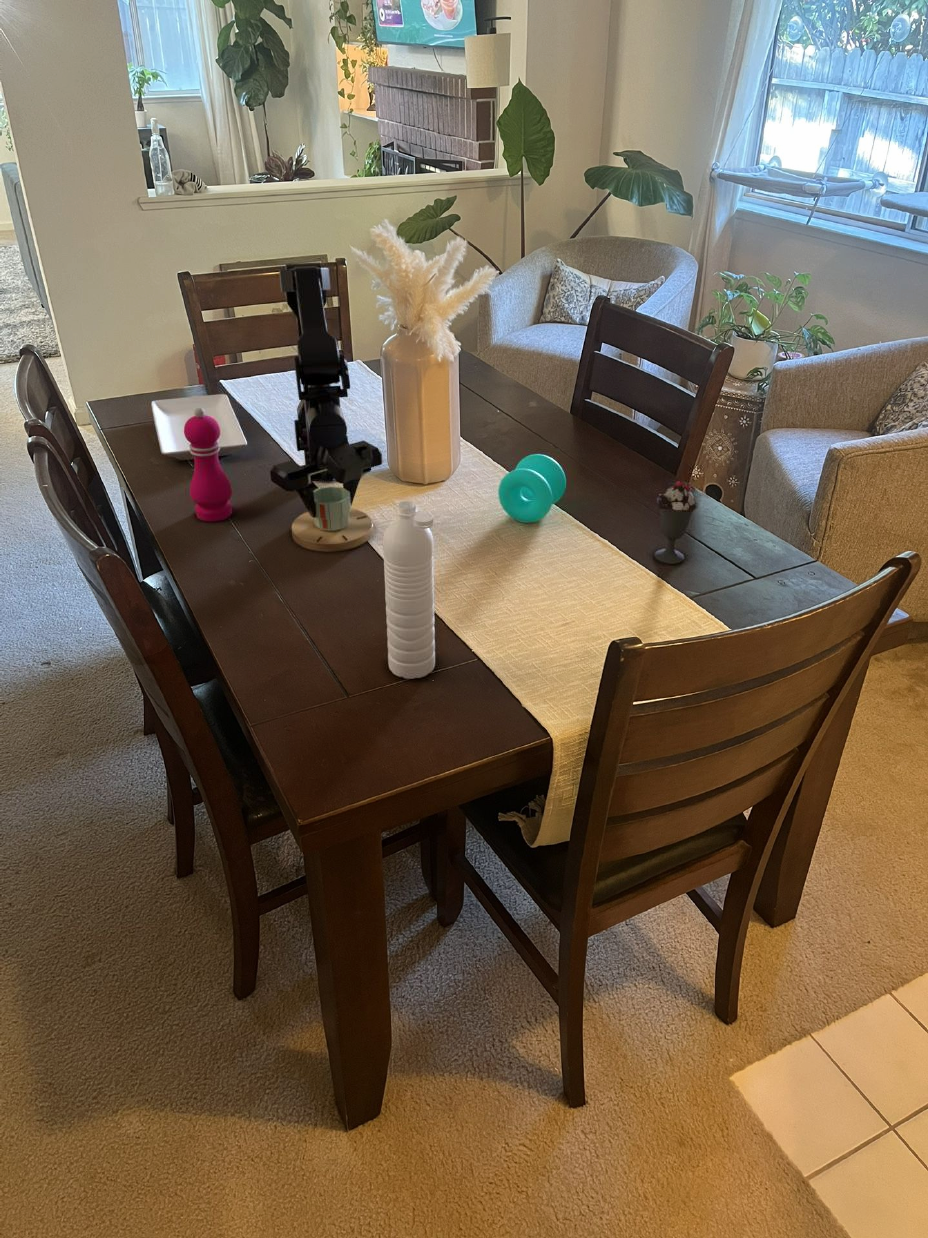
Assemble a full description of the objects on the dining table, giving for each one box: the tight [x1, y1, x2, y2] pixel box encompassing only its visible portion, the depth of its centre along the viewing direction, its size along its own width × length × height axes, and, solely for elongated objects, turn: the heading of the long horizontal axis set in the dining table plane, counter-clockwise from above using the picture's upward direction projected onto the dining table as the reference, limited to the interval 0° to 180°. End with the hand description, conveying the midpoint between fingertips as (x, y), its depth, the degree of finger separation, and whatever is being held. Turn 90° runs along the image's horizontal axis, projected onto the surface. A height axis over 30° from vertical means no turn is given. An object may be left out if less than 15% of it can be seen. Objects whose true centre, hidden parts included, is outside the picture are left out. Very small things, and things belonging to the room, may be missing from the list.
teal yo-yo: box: [497, 453, 567, 524], centre depth 164 cm, size 10×10×10 cm
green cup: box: [313, 485, 352, 531], centre depth 158 cm, size 7×7×6 cm
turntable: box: [291, 507, 374, 553], centre depth 160 cm, size 14×14×2 cm
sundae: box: [653, 471, 699, 565], centre depth 150 cm, size 7×7×15 cm
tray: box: [150, 393, 248, 461], centre depth 195 cm, size 17×31×4 cm, turn 20°
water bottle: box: [382, 500, 436, 680], centre depth 120 cm, size 9×6×25 cm
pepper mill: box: [184, 407, 233, 523], centre depth 160 cm, size 7×7×20 cm
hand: (331, 511), depth 158 cm, fingers closed on green cup, 7 cm apart
